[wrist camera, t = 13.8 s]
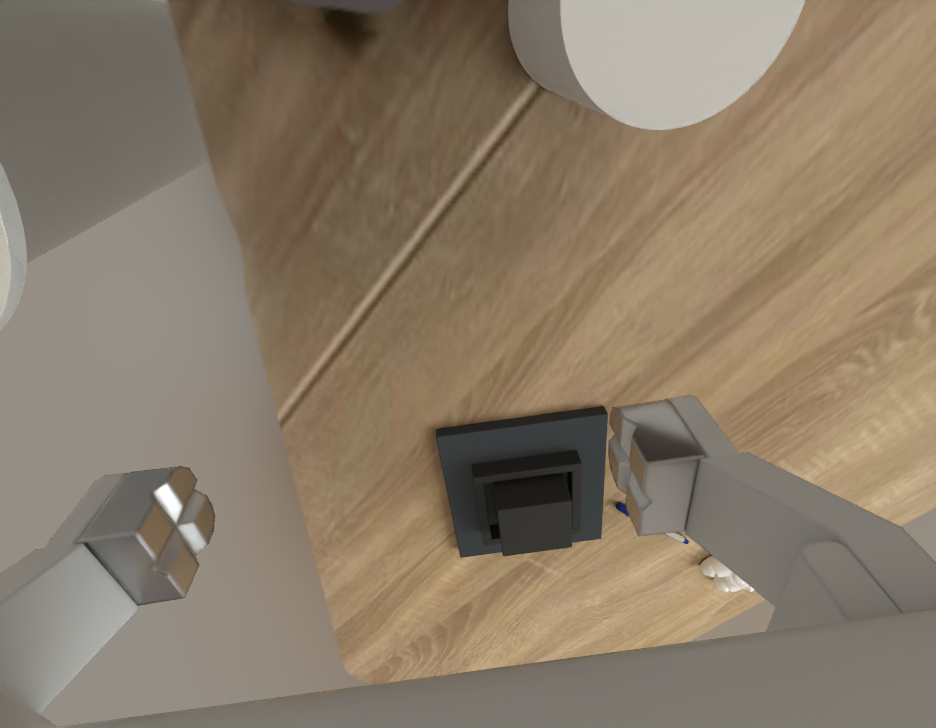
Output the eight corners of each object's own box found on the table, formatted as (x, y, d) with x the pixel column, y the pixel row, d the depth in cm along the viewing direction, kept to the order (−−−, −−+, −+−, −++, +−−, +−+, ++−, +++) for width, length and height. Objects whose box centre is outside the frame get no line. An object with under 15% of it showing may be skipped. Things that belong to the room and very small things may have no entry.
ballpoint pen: (611, 505, 48) (615, 514, 47) (618, 500, 47) (621, 508, 46) (683, 540, 51) (687, 548, 51) (689, 535, 51) (694, 544, 50)
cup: (648, -131, 23) (819, -261, 13) (674, 59, 27) (817, 72, 17) (485, -49, 24) (527, -110, 14) (534, 121, 29) (593, 166, 19)
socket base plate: (459, 549, 50) (461, 572, 47) (435, 429, 41) (436, 451, 39) (598, 530, 50) (606, 552, 47) (604, 406, 41) (614, 426, 39)
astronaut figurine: (688, 551, 53) (701, 577, 50) (801, 502, 49) (821, 527, 47) (715, 588, 57) (728, 613, 54) (820, 545, 54) (840, 570, 51)
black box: (497, 519, 46) (502, 556, 43) (491, 474, 43) (497, 511, 39) (561, 510, 46) (572, 547, 43) (560, 464, 43) (572, 500, 39)
